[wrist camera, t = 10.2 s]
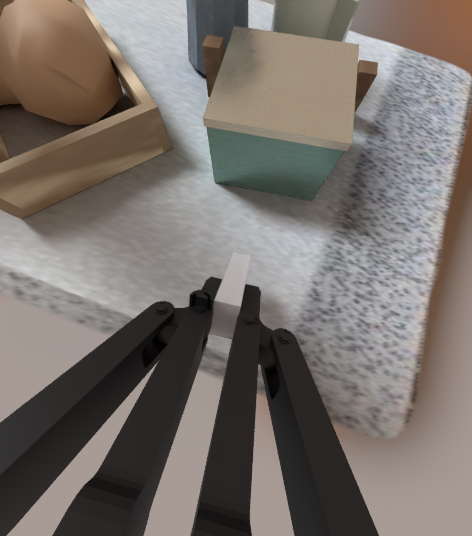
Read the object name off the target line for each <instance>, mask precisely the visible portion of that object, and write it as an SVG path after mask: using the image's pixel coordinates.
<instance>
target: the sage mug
mask: <svg viewBox="0 0 472 536" xmlns="http://www.w3.org/2000/svg"><path fill="white" fill-rule="evenodd" d="M360 1H361V0H275V3H274V11H273V19H272V27H271V31H272V32H278V33H285V34H292V35H299V36H305V37H312V38H319V39H325V40H332V41H339V42H344V41H345V38H346V36H347V33H348V31H349V28H350V26H351V23H352V21H353V18H354V16H355V13H356V11H357V8H358V6H359V3H360Z"/></svg>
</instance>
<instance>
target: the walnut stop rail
mask: <svg viewBox="0 0 472 536" xmlns="http://www.w3.org/2000/svg"><path fill="white" fill-rule="evenodd" d="M202 47H203V55H204V64H205V72H206V81H207V89H208V97H210V96H211V93H212V90H213V87H214V84H215V81H216V78H217V75H218V72H219V69H220V66H221V63H222V61H223V58H224V41H223V37H217V36H211V35H207V36H206V38H205V41H204V43H203V45H202ZM377 67H378V63H377V62H370V61H364V60H360V61H359V63H358V67H357V82H356V97H355V111H354V113H355V112H356V110H357V108H358V106H359V105H360V103H361V101H362V100H363V98H364V96H365V94H366V93H367V91H368V89H369V88H370V86H371V84H372V83H373V81H374V79H375V77H376V76H377Z"/></svg>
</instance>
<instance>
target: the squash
mask: <svg viewBox="0 0 472 536" xmlns="http://www.w3.org/2000/svg"><path fill="white" fill-rule="evenodd" d="M122 95H123V91H122V88H121V85H120V81H119V78H118V75H117V73H116V70H115V68H114V66H113V63H112V61H111V58H110V56H109V54H108V49H107V46H106V44H105V42H104V41H103V39H102V38H101V36H100V34H99V33H98V31H97V30H96V28H95V26H94V25H93V23H92V22H91V20H90V18H89V17H88V15H87V14H86V12H85V10H84V9H83V8H82V7H80V6H78V5H76V4H74V3H72V2H70V1H68V0H15V1H14V2H13V3H11V4H9V5H7V6H5V7H4V9H3V11H2V14H1V17H0V106H1V105H6V104H22V105H23V107H24V108H25V110H26V111H29V112H32V113H35V114H38V115H41V116H44V117H47V118H50V119H52V120H55V121H58V122H61V123H64V124H67V125H69V126H71V125H90V124H94V123H96V122H97V121H98V120H99V119H100V118H101V117H103V116H104V115H105V114H106V113H107V112H108V111H110V110H111V109H112V108H113V107H114V105H115V104H116V103H117V101H118V100H119V99H120V97H121V96H122Z"/></svg>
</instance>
